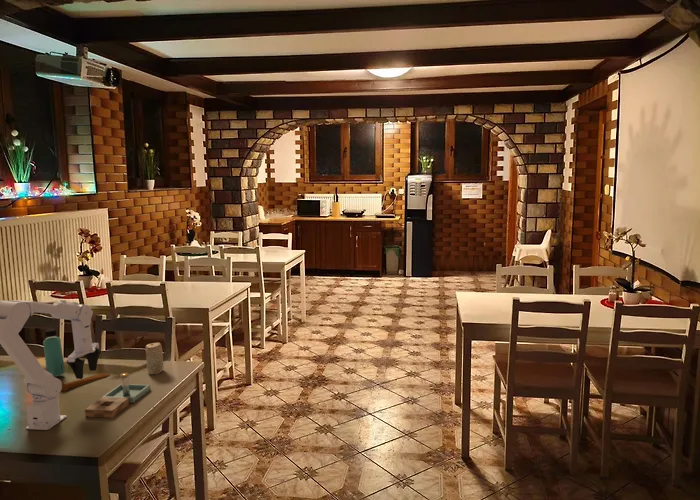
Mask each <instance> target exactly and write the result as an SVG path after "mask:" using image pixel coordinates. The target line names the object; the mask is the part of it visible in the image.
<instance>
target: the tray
mask: <svg viewBox="0 0 700 500" xmlns="http://www.w3.org/2000/svg"><path fill="white" fill-rule="evenodd" d="M129 389H130V395H129V396H123V390H122V383H120V384H118V385H117V386H115V387H114V388H113V389H110V391H108V392H107V393H105V394H104V395H103V396H102V397H115V398H129V404H132V403H133V404H135V403H136V402H137V401H139V400H140V399H141V398H142V397H143V396H145V395H146V394H147V393H149V392H150V391H151V385H150V384H139V383H138V384H137V383H134V384H133V383H129Z"/></svg>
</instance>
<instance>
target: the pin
mask: <svg viewBox="0 0 700 500" xmlns="http://www.w3.org/2000/svg"><path fill="white" fill-rule="evenodd" d="M129 376H130V373H129V372H122V373H120V374H119V377H120V379H121V384H122V390H123V396H129V395H130V389H129V384H130V381H129V378H130V377H129Z"/></svg>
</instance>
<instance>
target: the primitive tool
mask: <svg viewBox="0 0 700 500" xmlns="http://www.w3.org/2000/svg"><path fill="white" fill-rule="evenodd" d="M110 376H111V374H110V373H104V372H101V373H98V374H94V375H90V376H88V377H83V378H82V379H76V380H72V381H68V382H66V383H65V382H61V383H62V389H61V391H60V392H66V391H68V390H70V389H73V388H76V387H80V386H82V385H85V384H88V383H92V382H95V381H99V380H102V379H106V378H108V377H110Z"/></svg>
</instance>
